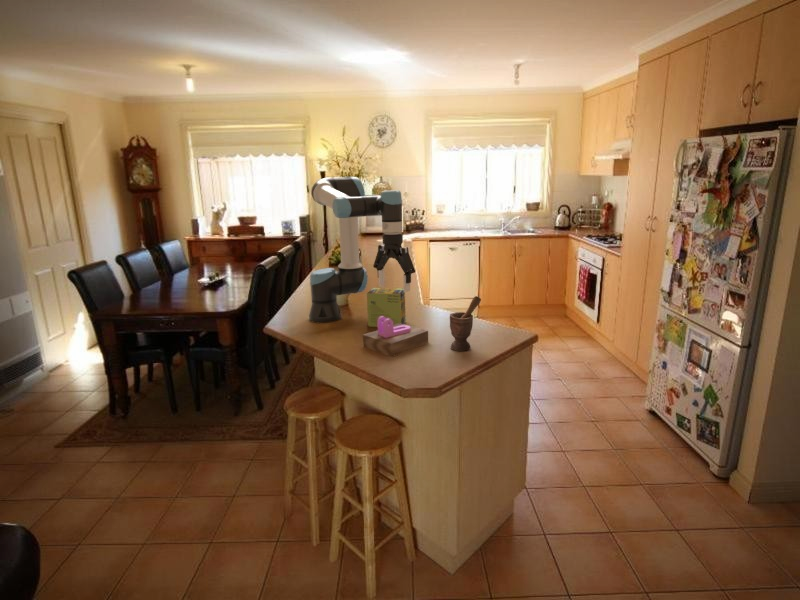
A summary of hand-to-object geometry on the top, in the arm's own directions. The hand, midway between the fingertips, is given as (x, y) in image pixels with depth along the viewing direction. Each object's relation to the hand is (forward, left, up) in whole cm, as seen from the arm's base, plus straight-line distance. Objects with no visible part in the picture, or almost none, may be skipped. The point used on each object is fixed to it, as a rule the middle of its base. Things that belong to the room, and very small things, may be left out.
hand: (394, 289), depth 181 cm
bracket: (0, 0, -18) cm, 18 cm away
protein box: (-23, +17, -23) cm, 37 cm away
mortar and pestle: (+22, +15, -23) cm, 35 cm away
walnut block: (0, 0, -22) cm, 23 cm away
